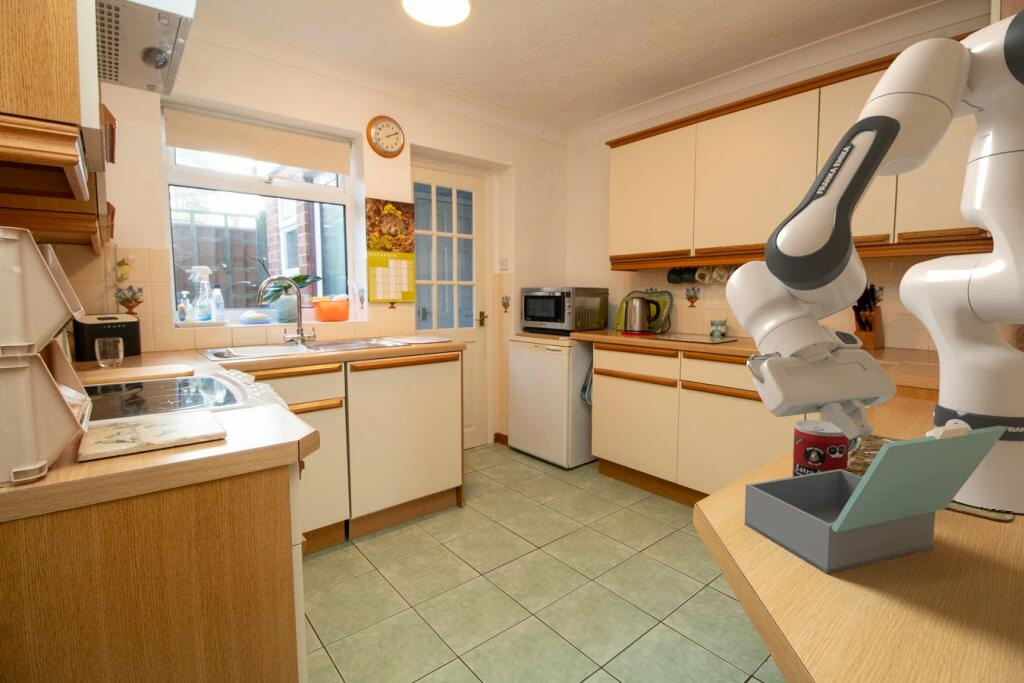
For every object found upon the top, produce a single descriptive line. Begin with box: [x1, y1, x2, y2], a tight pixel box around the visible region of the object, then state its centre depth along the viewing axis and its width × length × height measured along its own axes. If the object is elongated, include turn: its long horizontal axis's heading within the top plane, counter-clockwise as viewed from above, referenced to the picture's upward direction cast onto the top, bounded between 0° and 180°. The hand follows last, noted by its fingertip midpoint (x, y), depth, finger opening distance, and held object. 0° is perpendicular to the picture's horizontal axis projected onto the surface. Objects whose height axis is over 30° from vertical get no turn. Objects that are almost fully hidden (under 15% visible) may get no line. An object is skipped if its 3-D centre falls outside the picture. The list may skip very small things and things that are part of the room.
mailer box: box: [744, 469, 936, 575], centre depth 65 cm, size 18×13×6 cm
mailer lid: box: [831, 423, 1006, 532], centre depth 55 cm, size 18×14×1 cm
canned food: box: [792, 419, 850, 477], centre depth 80 cm, size 8×8×11 cm
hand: (862, 435), depth 61 cm, fingers closed
